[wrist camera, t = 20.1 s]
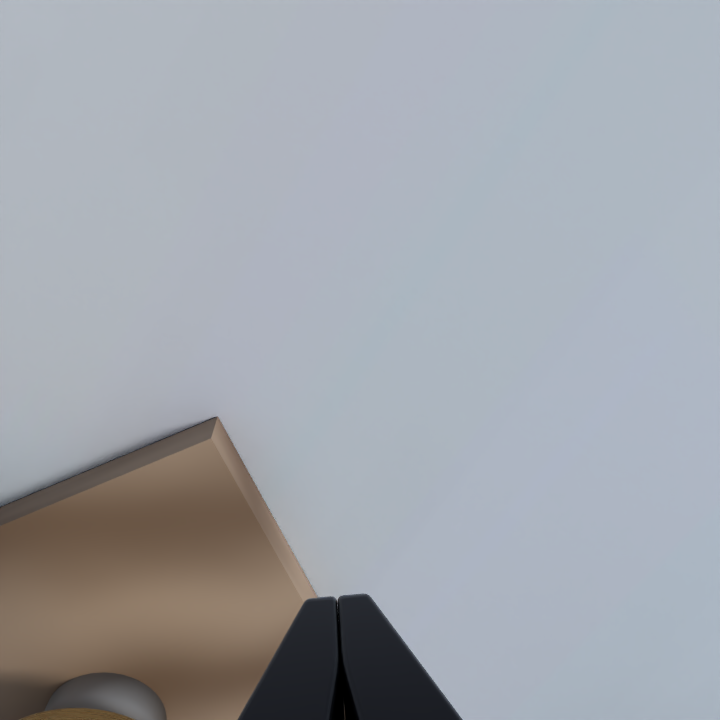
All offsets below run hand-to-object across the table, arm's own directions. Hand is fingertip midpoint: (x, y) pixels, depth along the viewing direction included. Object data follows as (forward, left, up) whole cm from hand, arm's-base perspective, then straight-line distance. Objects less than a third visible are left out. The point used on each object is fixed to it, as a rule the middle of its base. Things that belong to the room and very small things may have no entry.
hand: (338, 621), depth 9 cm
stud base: (-9, +12, -12) cm, 19 cm away
